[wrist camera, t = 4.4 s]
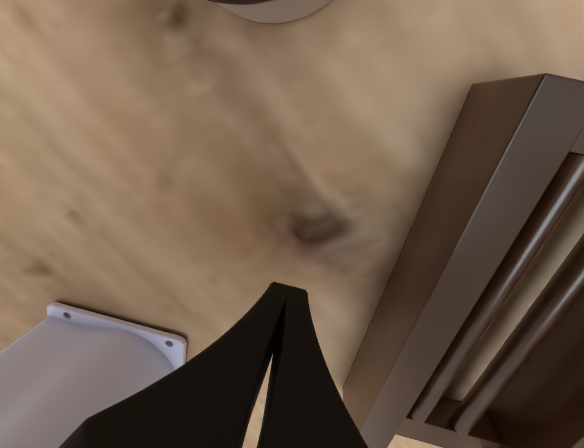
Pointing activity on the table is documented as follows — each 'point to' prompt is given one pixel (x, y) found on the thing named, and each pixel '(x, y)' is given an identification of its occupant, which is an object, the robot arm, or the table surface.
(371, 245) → the table surface
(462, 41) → the table surface
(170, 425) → the robot arm
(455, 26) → the table surface
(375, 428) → the rack
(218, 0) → the coffee cup
